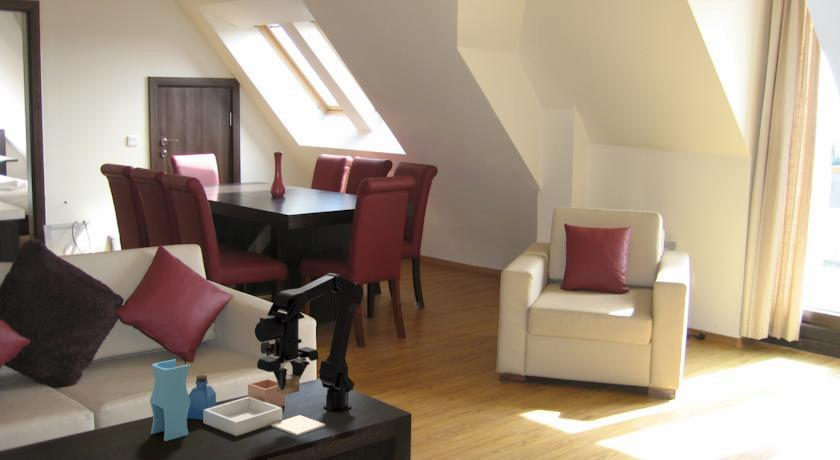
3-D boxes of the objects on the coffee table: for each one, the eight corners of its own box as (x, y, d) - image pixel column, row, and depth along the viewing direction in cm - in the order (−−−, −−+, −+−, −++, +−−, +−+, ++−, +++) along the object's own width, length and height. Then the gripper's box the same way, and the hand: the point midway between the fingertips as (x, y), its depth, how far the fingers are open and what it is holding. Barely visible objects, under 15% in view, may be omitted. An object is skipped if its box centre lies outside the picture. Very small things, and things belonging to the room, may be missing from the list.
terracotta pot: (267, 399, 276) (268, 378, 275) (284, 405, 271) (285, 384, 270) (247, 405, 270) (248, 384, 269) (264, 412, 265) (265, 389, 264)
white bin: (249, 408, 267) (249, 396, 266) (282, 421, 258) (282, 408, 257) (203, 422, 254) (203, 409, 253) (236, 436, 245) (236, 422, 244)
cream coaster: (299, 416, 262) (299, 414, 261) (325, 426, 255) (325, 424, 255) (271, 426, 253) (271, 424, 253) (297, 435, 246) (297, 433, 246)
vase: (190, 434, 245) (190, 365, 242) (165, 441, 239) (164, 370, 237) (175, 426, 250) (174, 359, 248) (150, 433, 245) (149, 364, 242)
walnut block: (289, 387, 256) (289, 372, 256) (299, 391, 253) (299, 376, 253) (277, 391, 253) (277, 376, 252) (287, 394, 250) (287, 379, 249)
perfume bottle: (206, 420, 257) (206, 380, 255) (187, 418, 258) (187, 378, 256) (215, 413, 263) (215, 374, 261) (196, 411, 264) (196, 372, 262)
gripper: (294, 324, 263) (294, 374, 265) (244, 336, 249) (245, 388, 251) (319, 331, 256) (319, 383, 258) (270, 343, 242) (270, 397, 244)
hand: (288, 387), depth 253 cm, fingers closed on walnut block, 4 cm apart
